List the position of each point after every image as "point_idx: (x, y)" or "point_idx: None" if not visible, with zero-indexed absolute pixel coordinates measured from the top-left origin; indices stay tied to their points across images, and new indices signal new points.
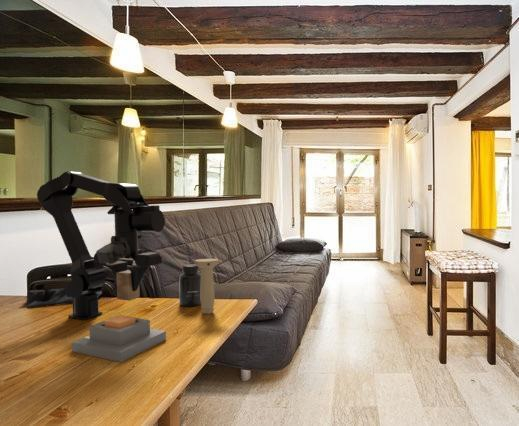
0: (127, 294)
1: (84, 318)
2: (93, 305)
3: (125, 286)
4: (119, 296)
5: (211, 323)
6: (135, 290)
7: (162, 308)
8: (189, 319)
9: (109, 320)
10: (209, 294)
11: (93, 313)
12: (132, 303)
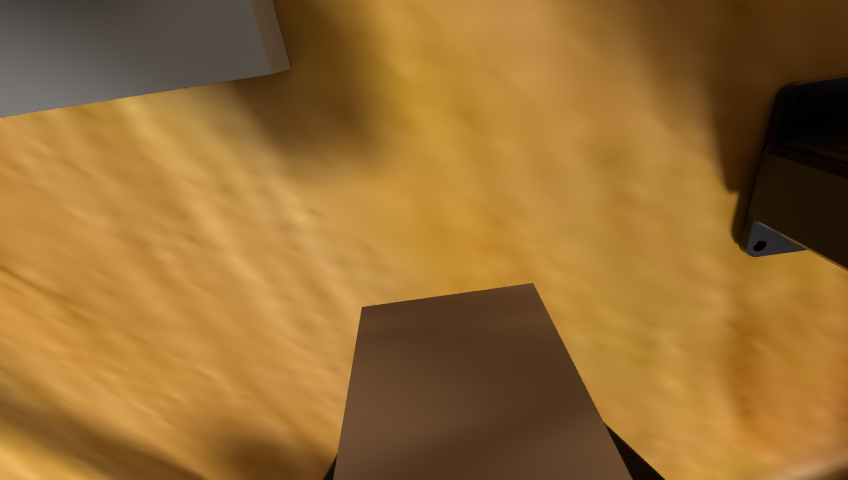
0: (373, 351)
1: (787, 90)
2: (828, 201)
3: (403, 440)
4: (506, 308)
5: (40, 433)
6: None
7: None
8: (187, 422)
9: None
10: None
11: (768, 174)
12: (696, 442)
